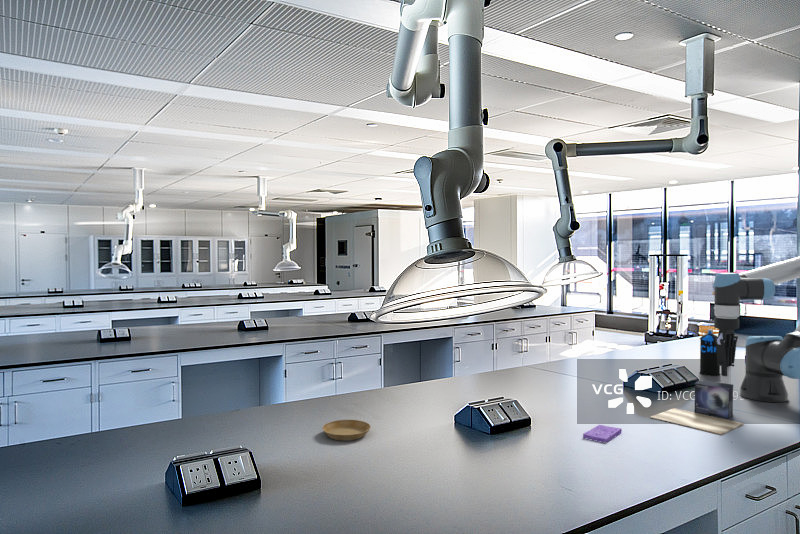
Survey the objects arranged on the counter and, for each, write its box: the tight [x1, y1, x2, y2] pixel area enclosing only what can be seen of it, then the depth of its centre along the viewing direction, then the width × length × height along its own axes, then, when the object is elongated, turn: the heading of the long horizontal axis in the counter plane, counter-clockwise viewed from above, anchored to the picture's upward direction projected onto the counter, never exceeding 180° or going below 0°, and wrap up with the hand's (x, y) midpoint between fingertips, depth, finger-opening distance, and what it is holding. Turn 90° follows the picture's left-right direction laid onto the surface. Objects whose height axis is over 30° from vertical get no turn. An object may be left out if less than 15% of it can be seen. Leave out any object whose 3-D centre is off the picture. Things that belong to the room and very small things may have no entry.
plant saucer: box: [321, 419, 371, 441], centre depth 170 cm, size 15×15×3 cm
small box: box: [694, 379, 734, 420], centre depth 188 cm, size 11×6×10 cm, turn 47°
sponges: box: [582, 424, 623, 444], centre depth 167 cm, size 7×13×2 cm, turn 139°
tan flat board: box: [649, 407, 744, 436], centre depth 180 cm, size 16×22×1 cm
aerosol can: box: [699, 328, 721, 377], centre depth 247 cm, size 8×8×20 cm
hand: (725, 384), depth 193 cm, fingers closed
